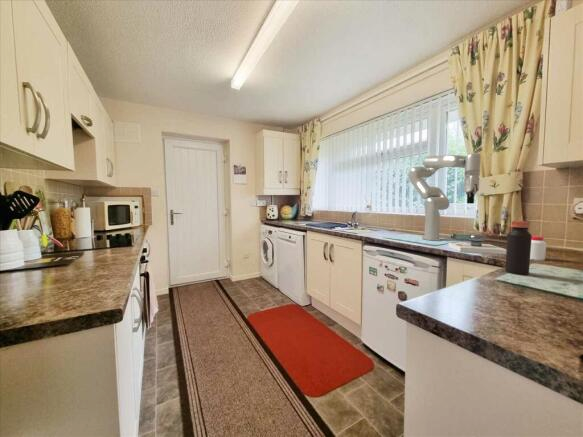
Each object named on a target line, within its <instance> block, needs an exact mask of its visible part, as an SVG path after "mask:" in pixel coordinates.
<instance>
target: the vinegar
mask: <svg viewBox="0 0 583 437" xmlns="http://www.w3.org/2000/svg"><path fill="white" fill-rule="evenodd" d="M510 228H511V231H509V232H508V233H507V237H506V248H505V249H506V254H505V265H504V271H505V272H506V273H508V274H512V275H519V276H528V275H529V274H530V262H531V259H530V253H531V240H532V236H533V235H532V234H531V233H530V232H529V231H528V230H529V228H530V221H524V220H523V221H522V220H511V227H510Z"/></svg>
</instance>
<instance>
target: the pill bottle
mask: <svg viewBox="0 0 583 437" xmlns="http://www.w3.org/2000/svg"><path fill="white" fill-rule="evenodd" d="M546 251H547V242H546V241H545V240H544V236H541V235H540V236H539V235H532V240H531V253H530V260H532V259H534V261H545V260H546V253H547V252H546Z"/></svg>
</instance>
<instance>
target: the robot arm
mask: <svg viewBox="0 0 583 437" xmlns="http://www.w3.org/2000/svg"><path fill="white" fill-rule="evenodd" d="M481 158H482V157H481V154H480V153H476V152H475V153H468V154H467V155H459V154H458V155H457V154H452V155H451V154H450V155H449V154H447V155H430V156H426V157H424V158H423V160H422V165H423V166H413V167H411V168H410V169H409V172H408V179H409V181H410V183H411V184H412V185H413V187H414V188H415V190H416V191H417V192H418V194H419V196H420V197H421V198H422V199H424V203H423V205H424V212H425V213H424V217H425V218H424V234H423V235H424V236H422V238H421V239H422V240H425V241H442V238H441V237H440V228H441V226H440V225H441V224H440V223H441V214H440V211H444V210H447V209H448V208H449V207H450V200H449V198H448V196H446V194H445V193H444V191H443V190H442V189H441V188H440V187H438V186H429V184H428V183H427V181H425V179H428V178H430V177H432V176H433V175H434V174H435V173H436V172H438V171H439V169H443V168H459V169H463V168H464V178H463V185H462V186H463V187H462V192H463V193H465V195H466V204H474V203H475V196H476V194H477V192H478V191H479V190H480V175H481V173H480V172H481ZM424 178H425V179H424Z"/></svg>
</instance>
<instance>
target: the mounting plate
mask: <svg viewBox="0 0 583 437" xmlns="http://www.w3.org/2000/svg"><path fill="white" fill-rule="evenodd" d="M448 248H451V249H453V250H455V251H458V252H460V253H473V254H474V253H475V254H491V255H492V254H493V255H506V249H507V248H503V247H500V246H496V245H492V244H488V243H487V244H486V243H484V244H483V243H482V246H472V245H471V242H467V243H464V242H463V243H462V242H448Z"/></svg>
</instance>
